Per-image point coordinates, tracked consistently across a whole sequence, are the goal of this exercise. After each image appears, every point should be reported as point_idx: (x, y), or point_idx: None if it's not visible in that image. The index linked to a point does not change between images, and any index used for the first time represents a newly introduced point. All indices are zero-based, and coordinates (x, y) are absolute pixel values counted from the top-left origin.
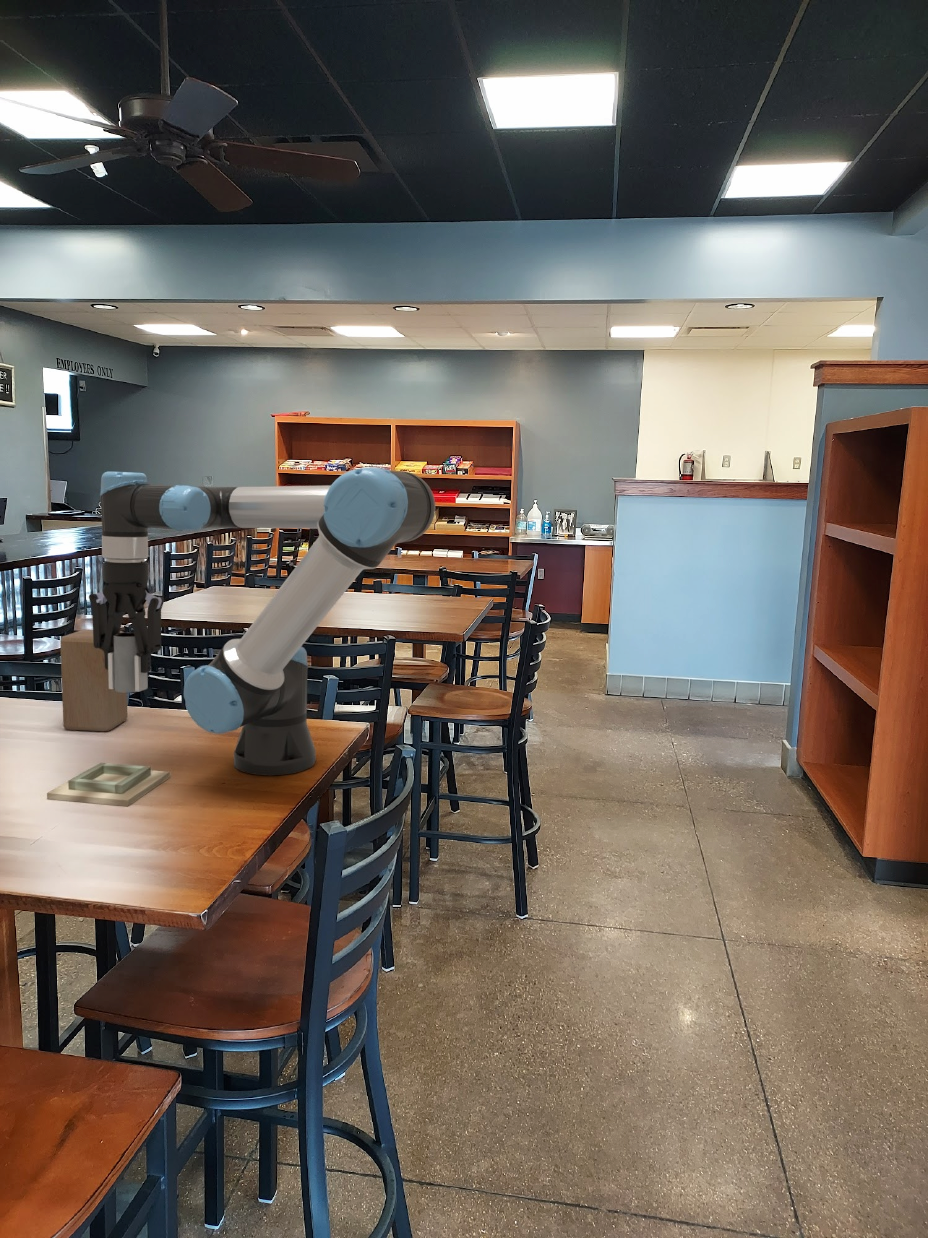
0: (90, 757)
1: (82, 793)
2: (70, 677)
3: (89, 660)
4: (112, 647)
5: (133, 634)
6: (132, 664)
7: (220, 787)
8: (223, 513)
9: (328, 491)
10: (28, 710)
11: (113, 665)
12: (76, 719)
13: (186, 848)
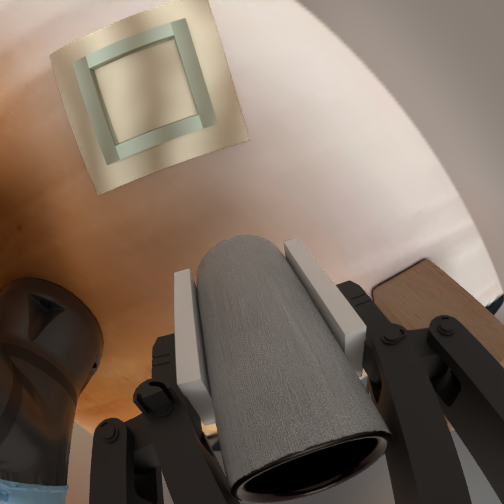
0: (315, 188)
1: (143, 23)
2: (470, 310)
3: None
4: (375, 371)
5: (313, 483)
6: (209, 339)
7: (9, 211)
8: None
9: None
10: (482, 280)
11: (319, 302)
12: (421, 274)
13: None
